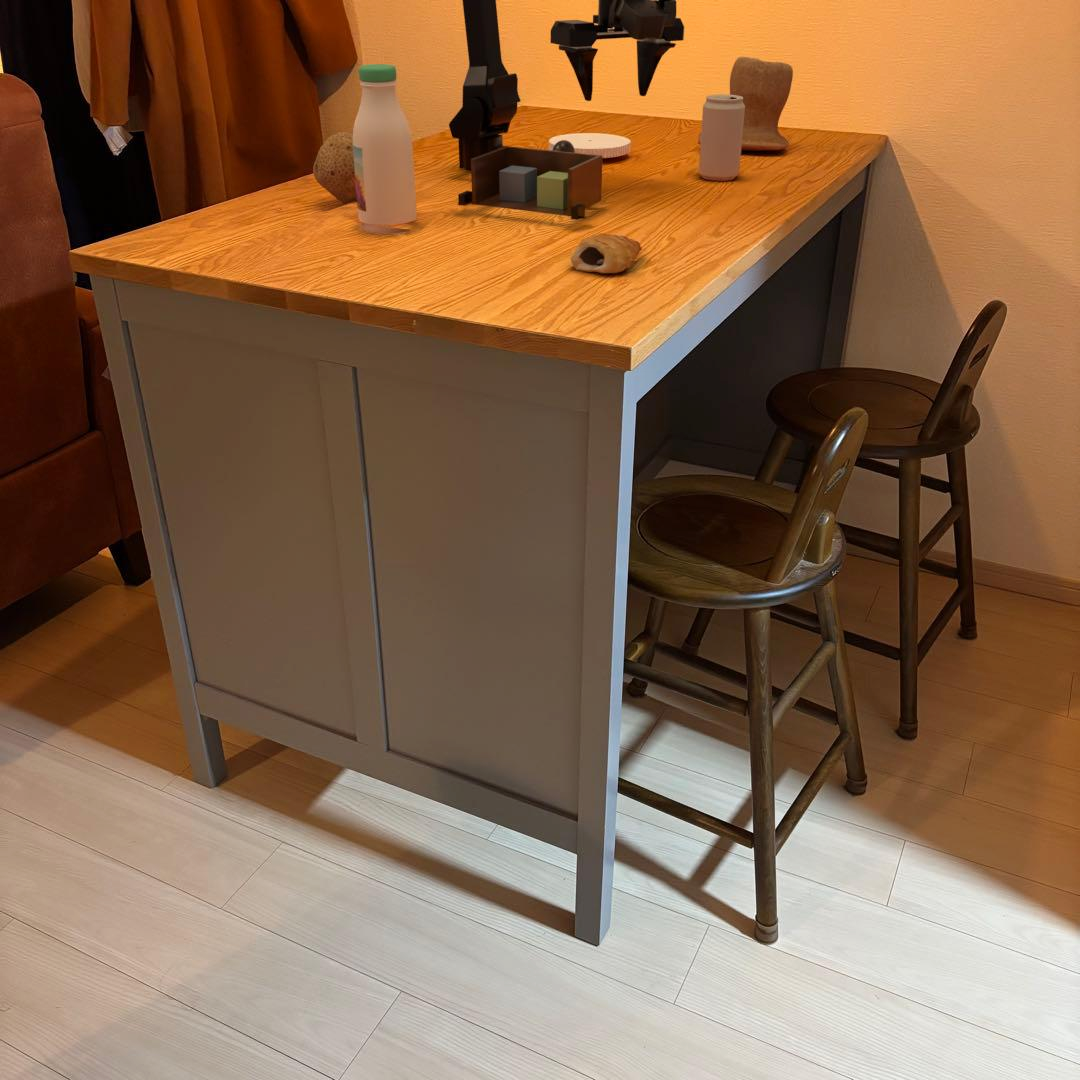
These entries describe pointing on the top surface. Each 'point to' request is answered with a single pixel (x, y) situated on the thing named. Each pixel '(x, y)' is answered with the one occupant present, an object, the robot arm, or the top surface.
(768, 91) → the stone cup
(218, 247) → the top surface
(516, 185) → the slate block
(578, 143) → the plastic lid
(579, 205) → the pivot brackets
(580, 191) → the bin
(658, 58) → the robot arm
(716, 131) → the beverage can
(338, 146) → the natural sponge
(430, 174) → the top surface
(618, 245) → the pastry
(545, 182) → the sage block
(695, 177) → the top surface
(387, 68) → the milk bottle
